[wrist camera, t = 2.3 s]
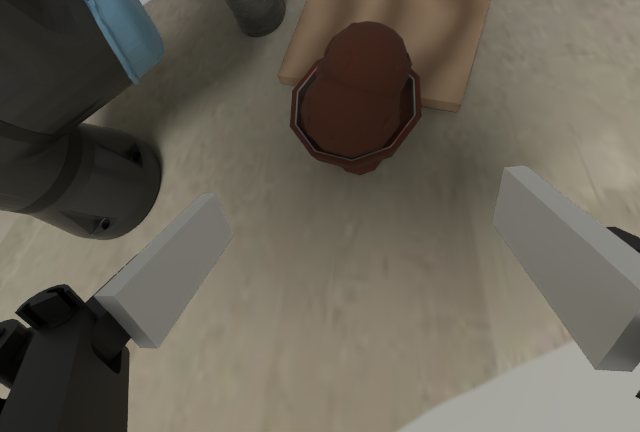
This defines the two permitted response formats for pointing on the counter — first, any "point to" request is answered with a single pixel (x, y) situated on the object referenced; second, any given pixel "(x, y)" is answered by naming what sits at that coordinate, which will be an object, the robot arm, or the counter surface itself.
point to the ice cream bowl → (357, 99)
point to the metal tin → (257, 15)
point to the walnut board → (412, 26)
